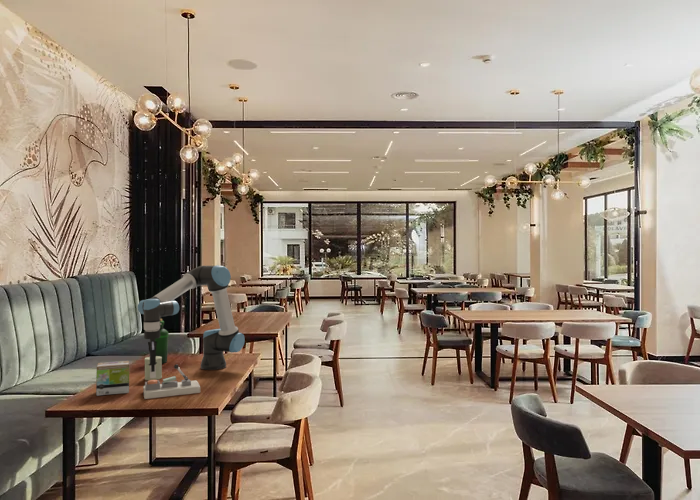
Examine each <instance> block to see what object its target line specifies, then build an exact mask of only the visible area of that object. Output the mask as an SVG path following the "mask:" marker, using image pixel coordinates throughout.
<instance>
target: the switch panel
mask: <svg viewBox="0 0 700 500" xmlns="http://www.w3.org/2000/svg"><path fill="white" fill-rule="evenodd" d="M200 393H201V386H200V383H199V382H198V380H191V379H189V378H188V380H185V379H181V381H178V380H174V381H170V382H166V383H164V382H163V381H161V382H160V380H158V383H157V384H148V381H144V385H143V397H144V400H146V399H147V400H148V399H157V398H165V397H173V396H182V395H191V394H200Z"/></svg>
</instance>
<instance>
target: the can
mask: <svg viewBox="0 0 700 500" xmlns="http://www.w3.org/2000/svg"><path fill="white" fill-rule="evenodd" d="M149 360H150V356H146V357H145V358H144V380H145V381H149V380H158V381H159V380H160V379H162V378H163V375H162V374H163V372H162V371H163V370H162V369H163V366H162V357H160V356H156V362H157V364H156V378H150V365H149V364H150V362H149Z"/></svg>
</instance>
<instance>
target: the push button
mask: <svg viewBox="0 0 700 500" xmlns="http://www.w3.org/2000/svg"><path fill="white" fill-rule="evenodd" d="M158 381H159V379H158V380H147V382H148V384H157V383H158Z"/></svg>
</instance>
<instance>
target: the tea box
mask: <svg viewBox="0 0 700 500" xmlns="http://www.w3.org/2000/svg"><path fill="white" fill-rule="evenodd" d="M95 374H96V375H95V376H96V377H95V378H96V382H95V383H96V386H95V387H96V389H95V391H96V396H97V397H98V396H99V397H100V396H105V395H119V394H129V392H130V360H121V361H110V362H109V361H107V362H98V363H97V366H96V373H95Z"/></svg>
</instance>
